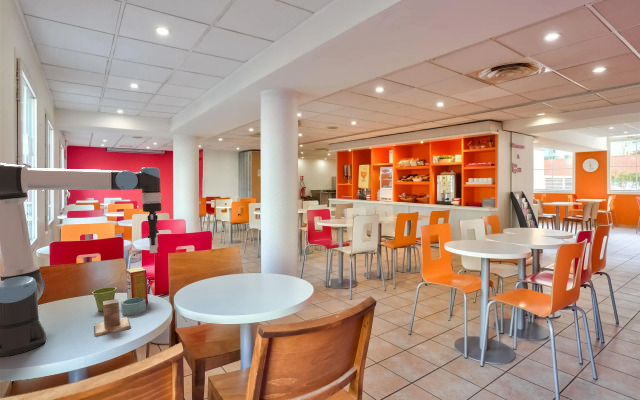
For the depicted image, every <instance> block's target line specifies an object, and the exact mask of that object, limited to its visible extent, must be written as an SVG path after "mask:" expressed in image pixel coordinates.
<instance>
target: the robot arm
mask: <svg viewBox="0 0 640 400" xmlns="http://www.w3.org/2000/svg"><path fill="white" fill-rule="evenodd" d="M160 174H161V173H160V168H158V167H141V169H140V171H137V172H135V171H134V172H133V171H131V170H124V169H123V170H108V169H107V170H103V169H102V170H101V169H74V168H73V169H70V168H69V169H67V168H66V169H65V168H37V167H35V168H31V167H30V168H29V167H28V166H27V165H23V164H11V163H4V162H0V253H1V256H2V261H3V262H2V263H3V268H4V269H3V272H2V273H0V357H8V356H9V357H10V356H14V355H19V354H23V353H26V352H29V351H31V350H34V349H36V348H39V347H40V346H42V345H43V344H45V343H46V342H47V333H46V331H45V329H44V327H43V325H42V323H41V321H40V315H39V300H40V298H41V297H42V295H43V294H44V292H45V288H46V284H45V280H44V279H43V277H42V273H41V268H40V266H38V265H36V264H35V263H34V261H35V260H34V256H33V251H32V244H31V239H30V233H29V227H28V226H29V225H28V222H27V221H28V220H27V215H26V211H25V202H26V201H27V200H28V198H29V196H28V191H31V190H32V191H34V190H35V191H37V190H39V191H49V190H50V191H51V190H52V191H57V190H58V191H59V190H60V191H61V190H62V191H67V190H68V191H71V190H74V191H75V190H76V191H84V190H85V191H86V190H87V191H90V190H91V191H92V190H93V191H95V190H96V191H97V190H98V191H100V190H101V191H103V190H105V191H108V190H109V191H114V190H115V191H130V190H133V191H134V190H141V201H142V212H144V213H148V215H147V218H146V219H147V224H148V233H149V234H148V235H147V239H149V254H157V253H158V248H159V243H158V234H159V230H158V228H157V225H158V215H157V213H158V212H161V211H162V209H163V208H162V203H161V201H162V197H163V194H161V190H162V189H161V187H162V186H161V175H160ZM156 212H157V213H156Z"/></svg>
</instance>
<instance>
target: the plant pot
mask: <svg viewBox="0 0 640 400" xmlns="http://www.w3.org/2000/svg"><path fill="white" fill-rule="evenodd" d="M116 291H117V287H114V286H108V287H102V288H97V289H95V290H93V291H92V292H91V293H92V294H93V297H94V300H95V303H96V307H97V310H98V311H99V312H103V301H109V300H114V299H116V296H115V295H116Z"/></svg>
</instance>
